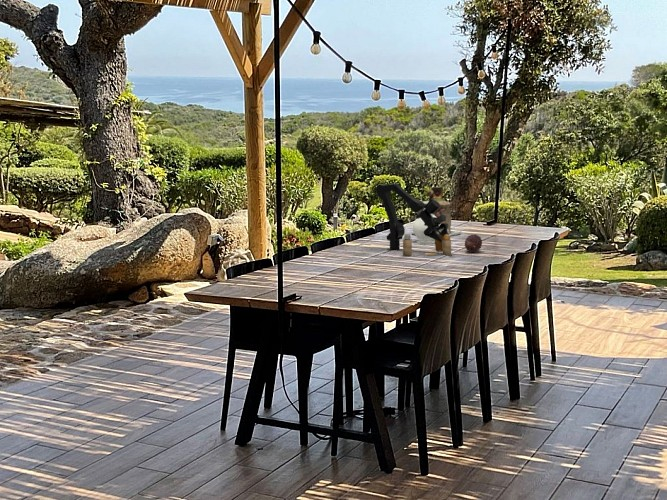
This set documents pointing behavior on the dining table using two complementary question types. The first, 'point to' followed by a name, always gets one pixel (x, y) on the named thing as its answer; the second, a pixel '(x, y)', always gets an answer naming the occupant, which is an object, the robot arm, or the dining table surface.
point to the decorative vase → (422, 230)
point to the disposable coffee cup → (439, 244)
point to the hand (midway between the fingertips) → (445, 240)
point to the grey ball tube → (407, 245)
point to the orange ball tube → (446, 245)
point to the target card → (425, 253)
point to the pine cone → (473, 243)
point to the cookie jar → (442, 207)
